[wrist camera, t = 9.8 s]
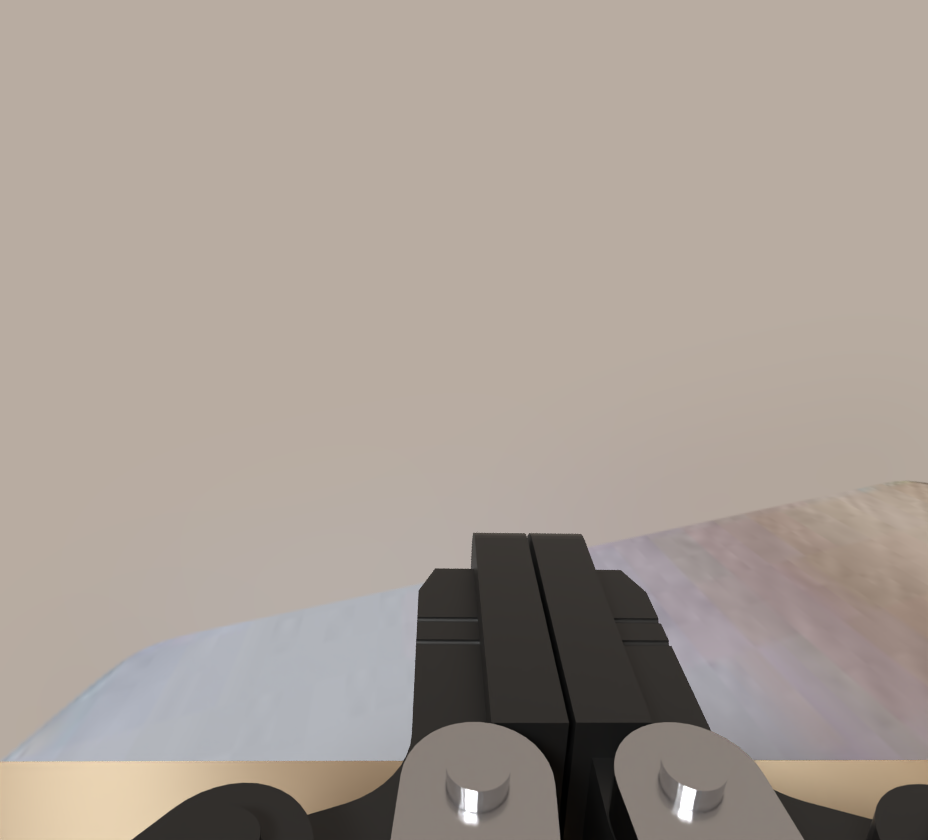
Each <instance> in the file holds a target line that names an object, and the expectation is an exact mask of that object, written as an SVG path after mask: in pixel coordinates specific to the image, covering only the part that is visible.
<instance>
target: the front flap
mask: <svg viewBox="0 0 928 840" xmlns="http://www.w3.org/2000/svg"><path fill="white" fill-rule="evenodd" d="M753 761H754V762H755V763H756V764H757V765H758V767H759V768H760V769H761V771H762V772H763V774H764V775H765V777H766V778H767V780H768V782H769V783H770V785H771V786H772V788H773V789H774V790H776V791H778V792H780V793H783V794H785V795H787V796H790V797H793V798H796V799H799V800H802V801H805V802H809V803H813V804H816V805H820V806H824V807H828V808H831V809H835V810H839V811H843V812H847V813H850V814H854V815H858V816H862V817H865V818H869V819H873V816H874V813H875V809H876V806H877V804H878V802H879V800H880V799H881V797H882V796H883V795H884V794H886V793H887V792H888V791H890V790H892V789H894V788H896V787H899V786H903V785H908V784H926V785H928V760H753ZM402 762H403V761H86V762H0V840H132V839H133V838H134V837H136V836H137V835H138V834H140V833H141V832H142V831H144V830H145V829H146V828H148V827H149V826H150V825H152V824H153V823H154V822H156V821H157V820H158V819H160V818H161V817H162V816H164V815H165V814H166V813H168V812H169V811H170V810H172V809H173V808H174V807H176V806H177V805H179V804H180V803H182V802H183V801H185V800H187V799H189V798H191V797H193V796H195V795H196V794H198V793H201V792H203V791H206V790H209V789H212V788H214V787H218V786H223V785H227V784H234V783H259V784H264V785H269V786H272V787H275V788H277V789H280V790H282V791H284V792H285V793H287V794H289V795H290V796H292V797H293V798H294V799H295V800H296V801H297V802H298V803H299V804H300V805H301V806H302V808H303V809H304V810H305V812H306V813H307V815H308V814H311V813H315V812H318V811H322V810H325V809H328V808H332V807H335V806H338V805H342V804H345V803H348V802H350V801H353V800H356V799H359V798H361V797H363V796H365V795H366V794H368V793H370V792H372V791H374V790H375V789H377V788H378V787H379V786H381V785H382V784H384V783H385V782H386V781H387V780H388V779H389V778H390V777H391V776H392V775H393V774H394V773H395V772H396V771H397V769H398V768H399V767H400V766H401V764H402Z"/></svg>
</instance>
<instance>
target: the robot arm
mask: <svg viewBox="0 0 928 840" xmlns="http://www.w3.org/2000/svg"><path fill="white" fill-rule="evenodd" d="M132 840H928V785H926V784H908V785H903V786H899V787H896V788H894V789H892V790H890V791H888V792H887V793H886V794H884V795H883V796H882V797H881V799H880V800H879V802H878V804H877V806H876V809H875V813H874V816H873V819H869V818H865V817H862V816H858V815H854V814H850V813H847V812H843V811H839V810H835V809H831V808H828V807H824V806H820V805H816V804H813V803H809V802H805V801H802V800H799V799H796V798H793V797H790V796H787V795H785V794H783V793H780V792H778V791H776V790H774V789H773V788H772V786H771V785H770V783H769V782H768V780H767V778H766V777H765V775H764V774H763V772H762V771H761V769H760V768H759V767H758V765H757V764H756V763H755V762H754V761H753V760H752V759H751V757H750V756H749V755H748V754H747V753H745V752H744V751H743V750H742V749H740V748H739V747H738V746H737V745H735V744H734V743H732V742H731V741H729V740H728V739H726V738H724V737H722V736H720V735H718V734H716V733H714V732H712V731H711V730H710V727H709V725H708V723H707V721H706V719H705V717H704V715H703V713H702V710H701V708H700V706H699V704H698V702H697V700H696V698H695V696H694V693H693V691H692V689H691V687H690V685H689V683H688V681H687V678H686V676H685V674H684V672H683V670H682V668H681V666H680V664H679V661H678V659H677V657H676V655H675V653H674V651H673V649H672V646H669V640H668V638H667V636H666V634H665V632H664V629H663V627H662V625H661V624H659V623H658V617H657V615H656V612H655V610H654V608H653V606H652V604H651V602H650V600H649V597H648V595H647V593H646V592H645V591H644V590H643V589H642V588H641V587H639V586H638V585H637V584H636V583H635V582H634V581H632V580H631V579H630V578H629V577H628V576H627V575H626V574H624V573H623V572H622V571H621V570H595V567H594V564H593V562H592V559H591V556H590V554H589V551H588V548H587V546H586V543H585V540H584V538H583V536H582V535H581V534H540V533H539V534H538V533H529V535H528V536H526V534H524V533H523V534H522V533H473V539H472V556H471V569H435V570H434V571H433V572H432V574H431V575H430V576H429V578H428V579H427V580H426V582H425V583H424V584H423V586H422V587H421V588H420V590H419V596H418V619H417V639H416V660H415V681H414V702H413V724H412V738H411V744H410V747H409V750H408V753H407V755H406V757H405V759H404V761H403V762H402V764H401V766H400V767H399V768H398V769H397V771H396V772H395V773H394V774H393V775H392V776H391V777H390V778H389V779H388V780H387V781H386V782H385V783H384V784H382V785H381V786H379V787H378V788H377V789H375V790H374V791H372V792H370V793H368V794H366V795H365V796H363V797H361V798H359V799H356V800H353V801H350V802H348V803H345V804H342V805H338V806H335V807H332V808H328V809H325V810H322V811H318V812H315V813H311V814H308V815H307V813H306V812H305V810H304V809H303V808H302V806H301V805H300V804H299V803H298V802H297V801H296V800H295V799H294V798H293V797H292V796H290V795H289V794H287V793H285V792H284V791H282V790H280V789H277V788H275V787H272V786H269V785H264V784H259V783H234V784H227V785H223V786H218V787H214V788H212V789H209V790H206V791H203V792H201V793H198V794H196V795H195V796H193V797H191V798H189V799H187V800H185V801H183V802H182V803H180V804H179V805H177V806H176V807H174V808H173V809H172V810H170V811H169V812H168V813H166V814H165V815H164V816H162V817H161V818H160V819H158V820H157V821H156V822H154V823H153V824H152V825H150V826H149V827H148V828H146V829H145V830H144V831H142V832H141V833H140V834H138V835H137V836H136V837H134V838H133V839H132Z"/></svg>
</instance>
